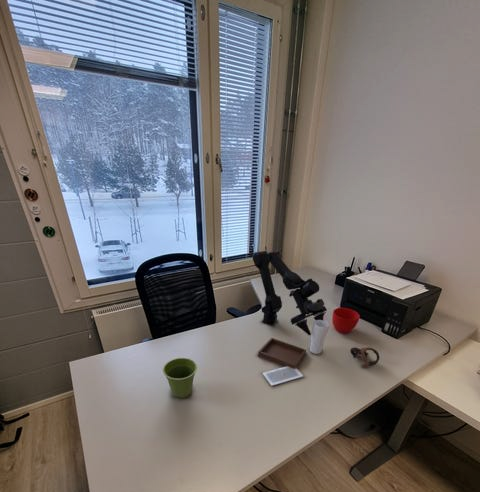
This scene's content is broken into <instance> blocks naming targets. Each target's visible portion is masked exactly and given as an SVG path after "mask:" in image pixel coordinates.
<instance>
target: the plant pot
mask: <svg viewBox="0 0 480 492" xmlns="http://www.w3.org/2000/svg"><path fill="white" fill-rule="evenodd" d="M197 370H198V365H197V363H196V361H194V360H193V359H191V358H188V357H176V358H173V359H171V360H169V361H167V362H166V363H164V365H163V367H162V373H163V375H164V376H165V378H166V379H167V382H168V385H169V388H170V391H171V395H173V396H174V397H175V398H180V399H183V398H184V399H185V398H186V397H188V396H189V395H191V393H192V391H193V383H194V378H195V375H196V372H197Z"/></svg>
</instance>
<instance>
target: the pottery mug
mask: <svg viewBox="0 0 480 492" xmlns="http://www.w3.org/2000/svg"><path fill="white" fill-rule="evenodd" d="M367 351H372V352H373V353H374V354H375V355H376V359H375V360H369V361H368V358H367V357H368V356H369V355H370V353H369V352H367ZM349 352H350V355H352V356H353V358H354V359H356V358H357V356H360V358H361V360H362V362H363V364H362V367H363V368H365V369H367V368H371V367H375V366H377V364H378V363H379V362H380V361H379V360H380V354H379V352H378V351H377V349H375V348H373V347H361V348H358V347H355V346H354V347H351V348H350V350H349Z"/></svg>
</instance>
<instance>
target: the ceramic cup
mask: <svg viewBox="0 0 480 492" xmlns="http://www.w3.org/2000/svg"><path fill="white" fill-rule="evenodd" d="M360 317H361V316H360V314H359V312H357V311H356V310H353V309H351V308H347V307H339V306H338V307H337V308H335V309H333V312H332V319H331V320H332V325H333V328H334V329H335V330H336V332H338V333H340V334H348V333H351V331H353V330H354V329H355V328H356V327H357V325H358V322H359V320H360Z"/></svg>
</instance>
